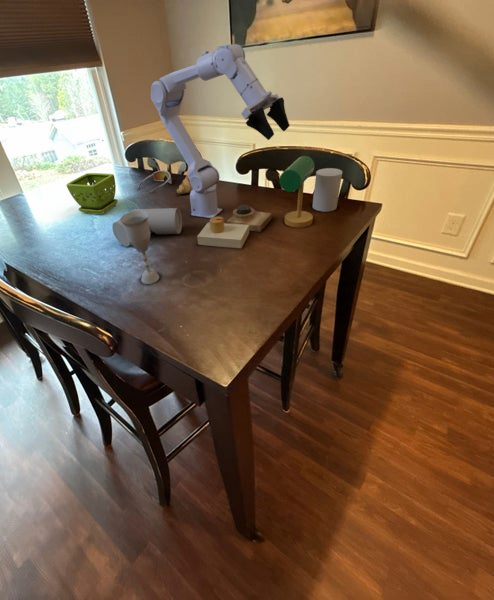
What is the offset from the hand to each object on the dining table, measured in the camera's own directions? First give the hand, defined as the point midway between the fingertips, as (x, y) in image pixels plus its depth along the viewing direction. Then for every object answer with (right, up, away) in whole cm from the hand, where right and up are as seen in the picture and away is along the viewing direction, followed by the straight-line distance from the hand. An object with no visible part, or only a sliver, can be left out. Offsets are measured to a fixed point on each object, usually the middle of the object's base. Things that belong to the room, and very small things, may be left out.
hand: (279, 132), depth 84 cm
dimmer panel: (-14, -26, +15) cm, 33 cm away
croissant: (-25, +5, +55) cm, 61 cm away
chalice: (-35, -39, +2) cm, 53 cm away
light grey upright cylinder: (+22, -12, +26) cm, 37 cm away
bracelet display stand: (+11, -19, +20) cm, 29 cm away
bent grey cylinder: (-38, -24, +22) cm, 50 cm away
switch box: (-5, -19, +22) cm, 30 cm away
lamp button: (-7, -16, +21) cm, 27 cm away
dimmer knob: (-16, -23, +14) cm, 32 cm away
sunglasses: (-44, +8, +63) cm, 77 cm away
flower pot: (-65, -7, +47) cm, 80 cm away
